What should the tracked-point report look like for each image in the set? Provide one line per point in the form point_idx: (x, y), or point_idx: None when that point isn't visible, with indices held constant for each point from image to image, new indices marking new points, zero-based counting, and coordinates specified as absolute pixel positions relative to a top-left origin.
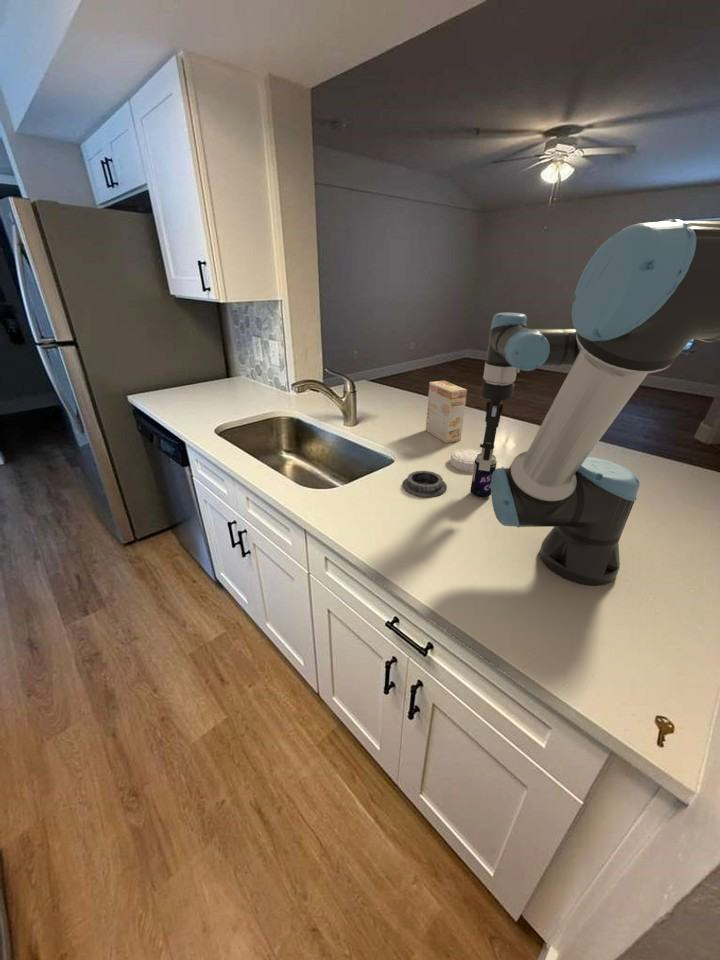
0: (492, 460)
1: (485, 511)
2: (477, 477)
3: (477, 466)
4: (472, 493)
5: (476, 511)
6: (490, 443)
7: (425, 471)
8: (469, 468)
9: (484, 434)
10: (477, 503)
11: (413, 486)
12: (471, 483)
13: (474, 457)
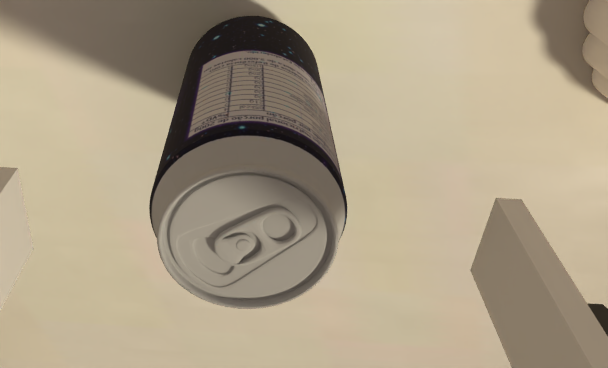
0: (182, 286)
1: (62, 99)
2: (178, 104)
3: (179, 138)
4: (209, 31)
5: (37, 49)
6: (497, 301)
7: None
8: (600, 10)
9: (563, 317)
10: (140, 56)
11: None
12: (245, 37)
13: None
